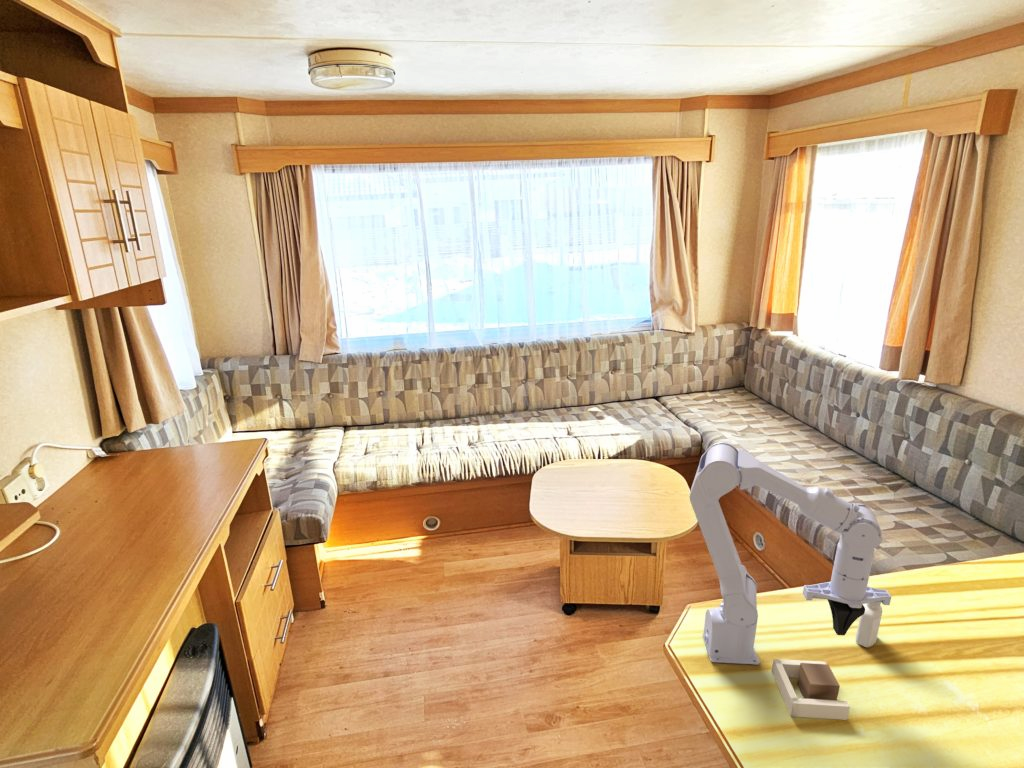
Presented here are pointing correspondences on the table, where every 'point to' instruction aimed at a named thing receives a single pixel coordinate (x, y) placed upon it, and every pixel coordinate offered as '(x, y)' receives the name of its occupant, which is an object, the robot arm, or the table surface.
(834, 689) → the walnut cube
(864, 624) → the eye dropper bottle
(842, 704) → the dock
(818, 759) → the table surface
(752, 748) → the table surface
